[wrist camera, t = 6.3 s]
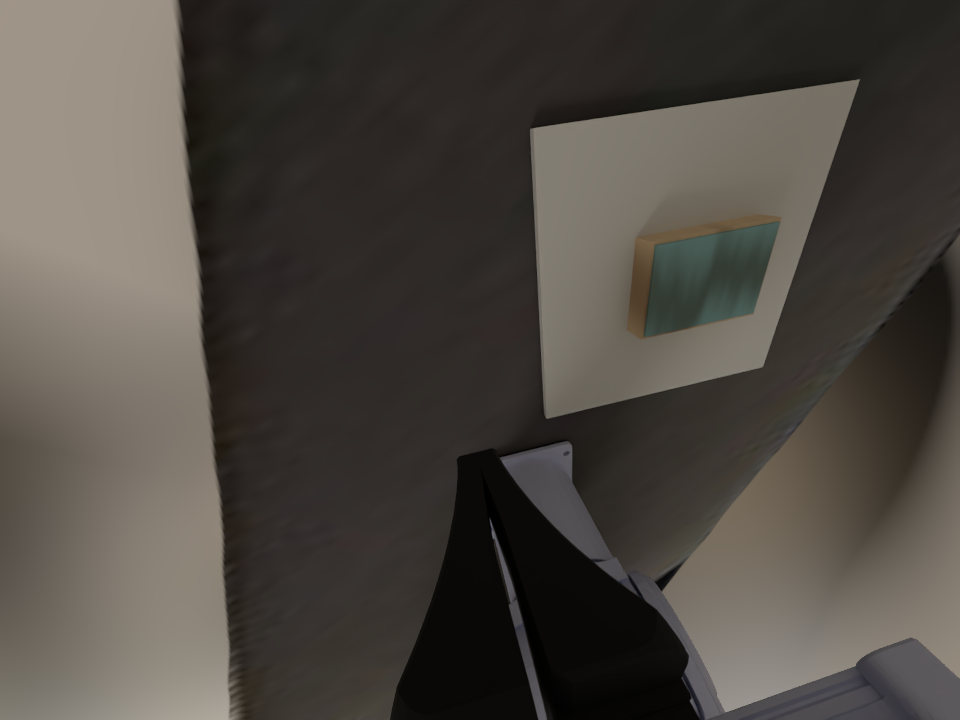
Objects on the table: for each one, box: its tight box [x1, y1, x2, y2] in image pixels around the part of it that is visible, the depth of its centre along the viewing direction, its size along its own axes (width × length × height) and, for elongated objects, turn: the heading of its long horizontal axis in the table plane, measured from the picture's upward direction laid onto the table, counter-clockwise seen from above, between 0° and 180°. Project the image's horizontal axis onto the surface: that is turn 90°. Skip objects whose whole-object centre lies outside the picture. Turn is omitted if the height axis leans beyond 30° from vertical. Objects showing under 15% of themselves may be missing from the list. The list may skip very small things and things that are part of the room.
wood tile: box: [627, 214, 782, 340], centre depth 21 cm, size 6×2×8 cm
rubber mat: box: [530, 79, 860, 419], centre depth 22 cm, size 18×18×1 cm
